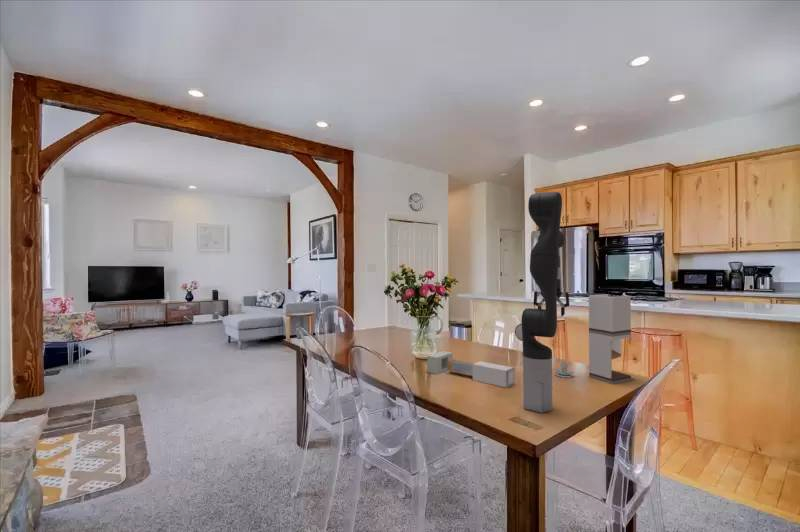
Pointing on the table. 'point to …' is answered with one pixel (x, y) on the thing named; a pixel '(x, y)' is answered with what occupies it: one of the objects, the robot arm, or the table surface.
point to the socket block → (438, 362)
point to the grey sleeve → (493, 374)
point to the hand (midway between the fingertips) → (551, 315)
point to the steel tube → (460, 366)
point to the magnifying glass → (519, 332)
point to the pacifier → (564, 371)
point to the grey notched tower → (607, 335)
